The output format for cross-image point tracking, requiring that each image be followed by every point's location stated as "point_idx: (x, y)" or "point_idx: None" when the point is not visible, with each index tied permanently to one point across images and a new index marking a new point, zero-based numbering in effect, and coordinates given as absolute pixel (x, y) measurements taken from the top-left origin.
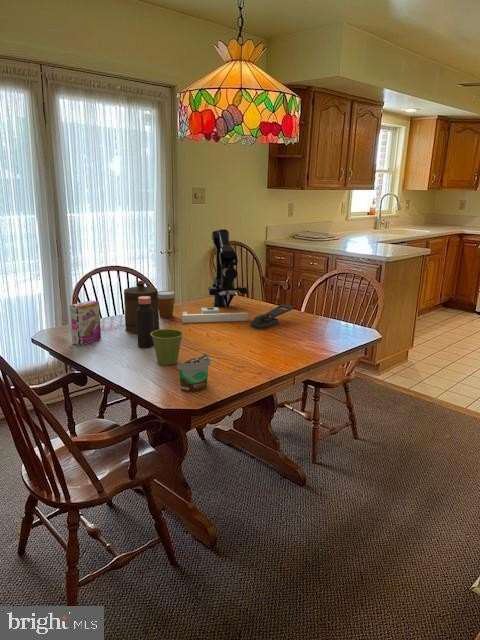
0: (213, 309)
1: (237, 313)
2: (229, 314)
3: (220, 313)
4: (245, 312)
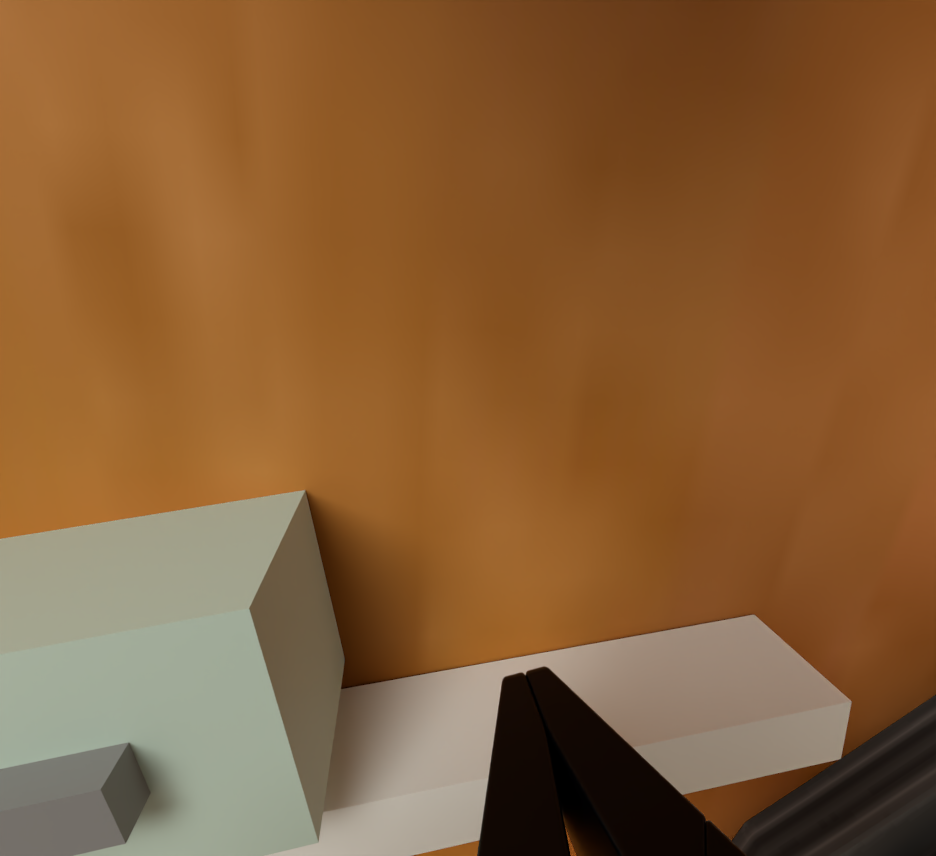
0: (154, 812)
1: (677, 778)
2: None
3: (354, 820)
4: (828, 706)
